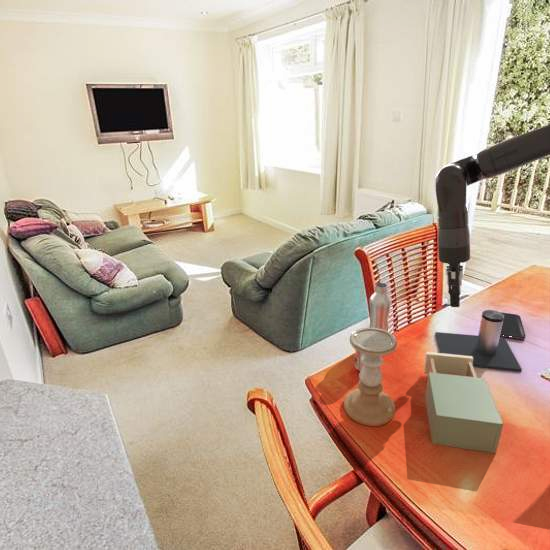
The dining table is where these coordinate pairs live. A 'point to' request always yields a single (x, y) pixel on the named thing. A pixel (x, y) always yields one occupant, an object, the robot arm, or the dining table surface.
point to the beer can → (358, 360)
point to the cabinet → (462, 412)
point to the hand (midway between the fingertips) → (455, 300)
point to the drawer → (449, 364)
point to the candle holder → (371, 378)
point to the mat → (467, 347)
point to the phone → (512, 326)
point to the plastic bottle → (380, 307)
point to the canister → (489, 332)
